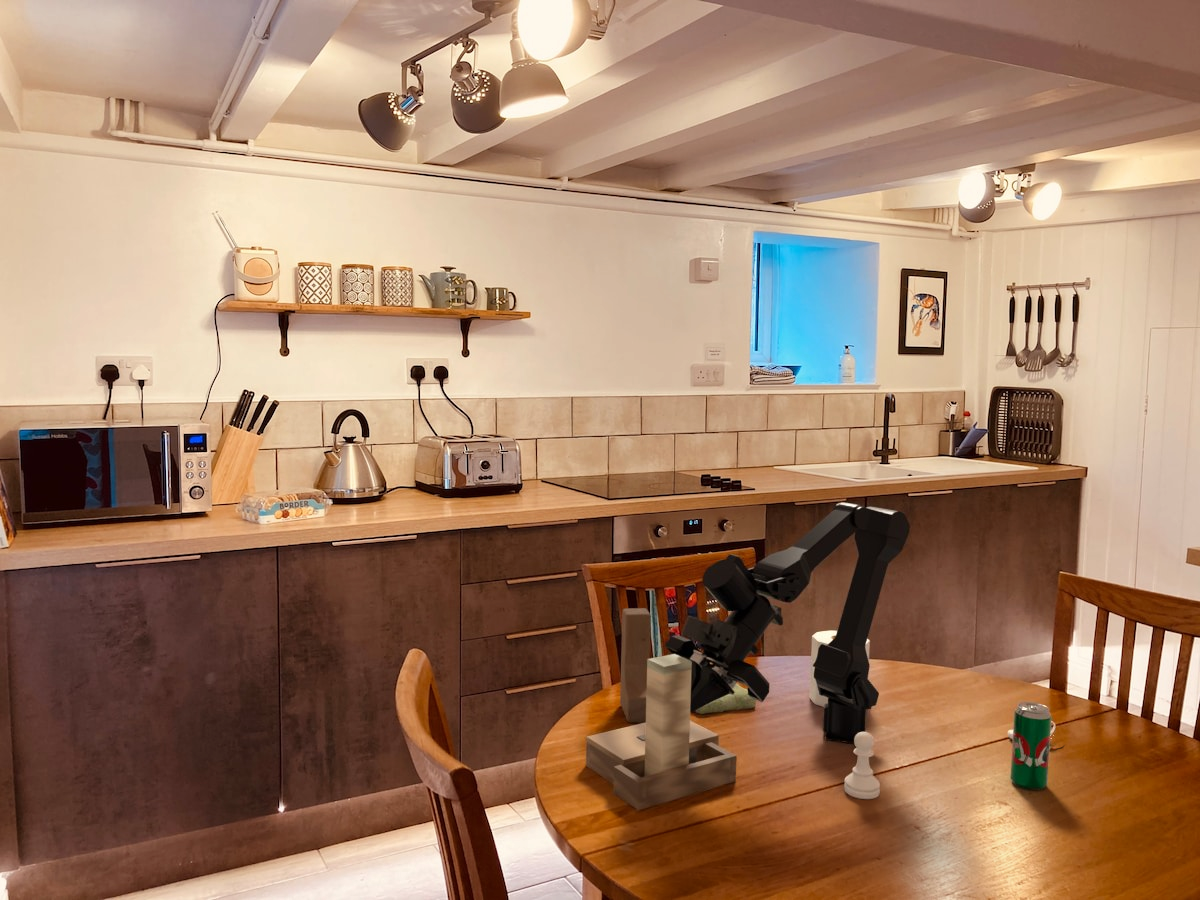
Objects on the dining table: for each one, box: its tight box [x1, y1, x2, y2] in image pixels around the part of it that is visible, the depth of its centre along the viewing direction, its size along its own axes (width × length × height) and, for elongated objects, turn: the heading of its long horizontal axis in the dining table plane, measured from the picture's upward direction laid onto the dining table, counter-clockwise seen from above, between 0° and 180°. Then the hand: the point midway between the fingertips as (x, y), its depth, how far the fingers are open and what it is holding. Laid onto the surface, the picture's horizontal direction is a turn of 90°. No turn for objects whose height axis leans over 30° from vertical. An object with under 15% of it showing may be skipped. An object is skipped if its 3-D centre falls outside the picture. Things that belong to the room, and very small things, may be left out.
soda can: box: [1010, 701, 1052, 791], centre depth 141 cm, size 5×5×12 cm
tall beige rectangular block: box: [644, 653, 692, 777], centre depth 137 cm, size 5×4×19 cm
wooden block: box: [619, 607, 652, 724], centre depth 166 cm, size 9×4×18 cm, turn 7°
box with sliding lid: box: [585, 720, 737, 811], centre depth 142 cm, size 20×16×5 cm
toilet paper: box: [809, 630, 871, 708], centre depth 175 cm, size 10×10×12 cm
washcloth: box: [694, 682, 757, 715], centre depth 176 cm, size 13×18×3 cm
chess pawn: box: [843, 731, 881, 800], centre depth 137 cm, size 5×5×9 cm
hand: (682, 712), depth 138 cm, fingers closed, pressing on tall beige rectangular block
